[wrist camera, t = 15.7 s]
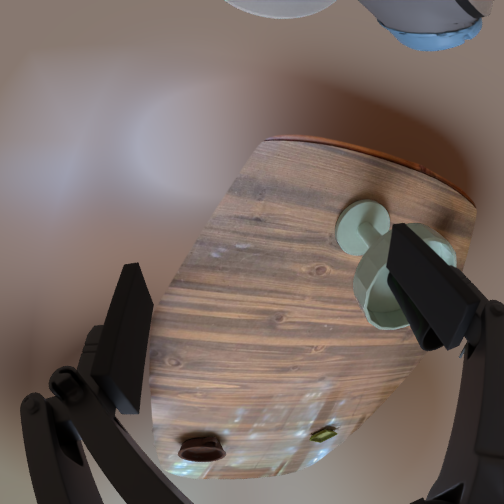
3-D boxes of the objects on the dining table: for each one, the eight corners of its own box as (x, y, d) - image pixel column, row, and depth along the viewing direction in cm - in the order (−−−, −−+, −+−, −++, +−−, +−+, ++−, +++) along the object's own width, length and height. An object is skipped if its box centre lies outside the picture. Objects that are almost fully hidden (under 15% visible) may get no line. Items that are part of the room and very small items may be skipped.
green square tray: (336, 429, 102) (338, 434, 101) (319, 438, 105) (320, 442, 103) (325, 426, 98) (327, 431, 97) (307, 436, 101) (308, 440, 99)
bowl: (322, 190, 49) (373, 247, 33) (402, 183, 50) (467, 231, 34) (320, 269, 57) (357, 340, 42) (391, 256, 58) (440, 315, 43)
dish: (171, 450, 96) (171, 461, 92) (185, 430, 86) (186, 443, 82) (214, 455, 102) (214, 465, 97) (234, 435, 92) (235, 447, 88)
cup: (422, 243, 38) (471, 295, 28) (423, 281, 42) (464, 332, 32) (377, 266, 39) (421, 326, 29) (383, 302, 43) (419, 359, 33)
